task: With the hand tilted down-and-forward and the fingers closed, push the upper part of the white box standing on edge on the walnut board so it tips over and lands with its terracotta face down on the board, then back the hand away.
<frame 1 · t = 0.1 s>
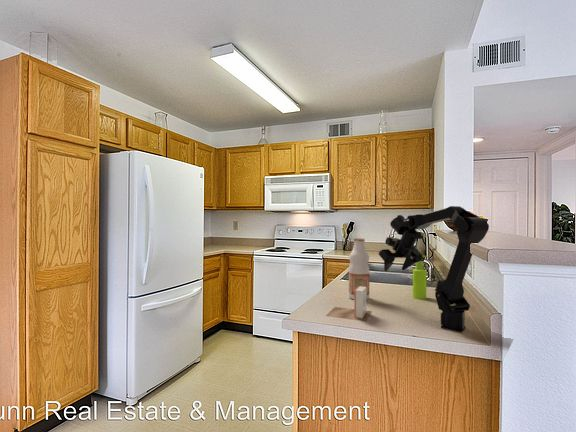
hand: (394, 270, 137), 15 cm above the counter, tool tilted 35°, fingers open, 9 cm apart
fruit juice: (359, 298, 148), on the counter
board: (349, 315, 122), on the counter
white box: (360, 314, 120), point 1 cm above the counter, touching board
soap dispenser: (420, 298, 149), on the counter
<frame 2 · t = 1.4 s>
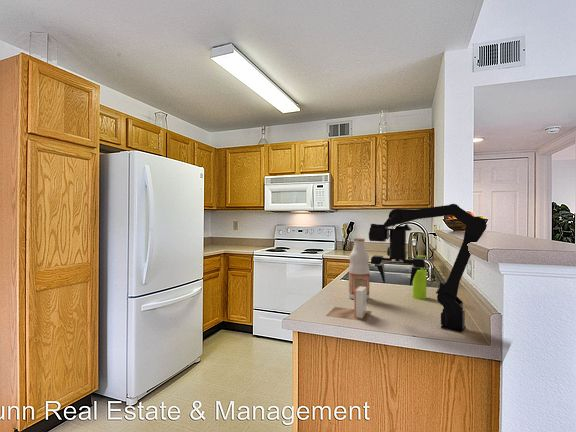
hand: (397, 284, 117), 13 cm above the counter, tool pointing down, fingers open, 9 cm apart
nothing on the counter moved.
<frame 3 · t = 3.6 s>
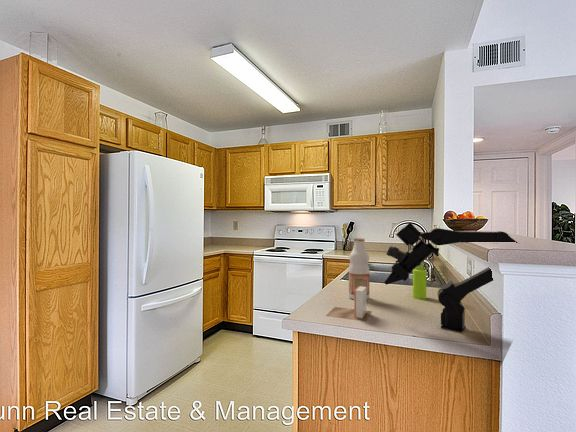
hand: (385, 283, 117), 13 cm above the counter, tool tilted 45°, fingers closed
nothing on the counter moved.
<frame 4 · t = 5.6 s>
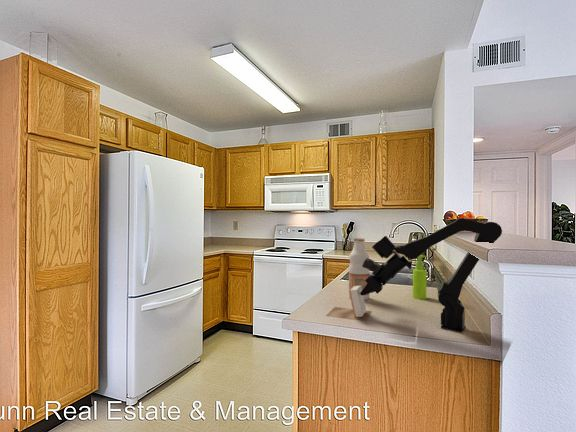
hand: (360, 294, 120), 8 cm above the counter, tool tilted 45°, fingers closed
white box: (360, 313, 120), point 1 cm above the counter, tilted 12°, touching board
everything else where it was.
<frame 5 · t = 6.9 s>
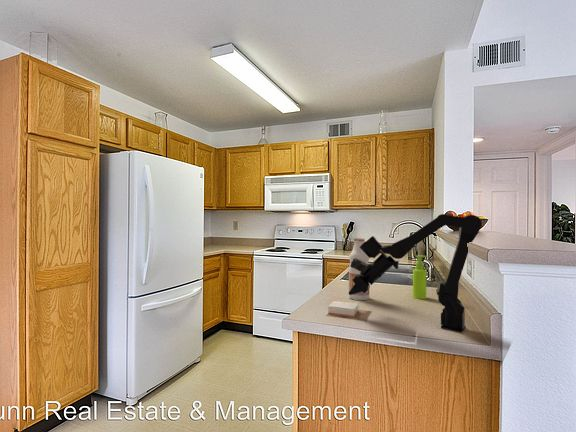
hand: (349, 294, 122), 8 cm above the counter, tool tilted 45°, fingers closed
white box: (356, 310, 121), point 2 cm above the counter, tilted 90°, touching board
everything else where it was.
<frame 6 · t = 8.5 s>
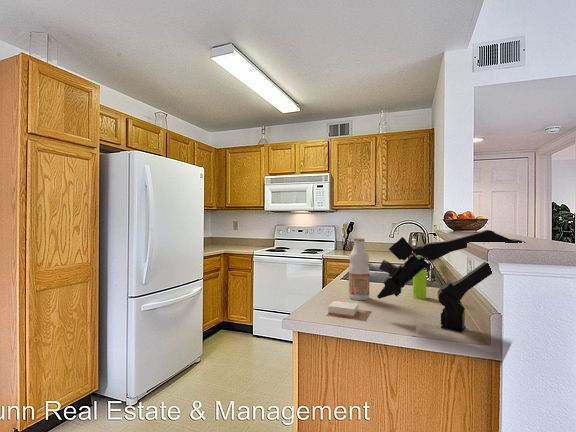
hand: (378, 297, 118), 8 cm above the counter, tool tilted 45°, fingers closed
nothing on the counter moved.
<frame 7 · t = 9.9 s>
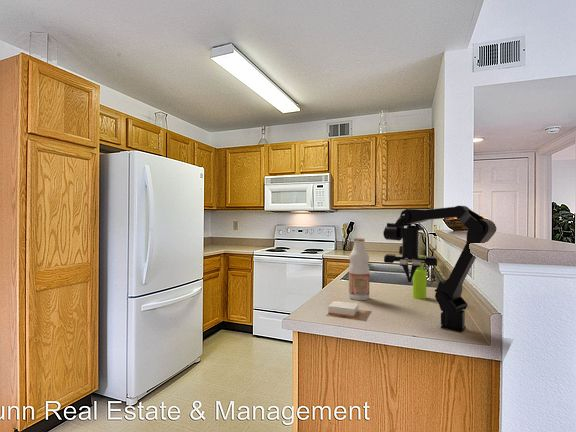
hand: (409, 282, 121), 13 cm above the counter, tool pointing down, fingers closed
nothing on the counter moved.
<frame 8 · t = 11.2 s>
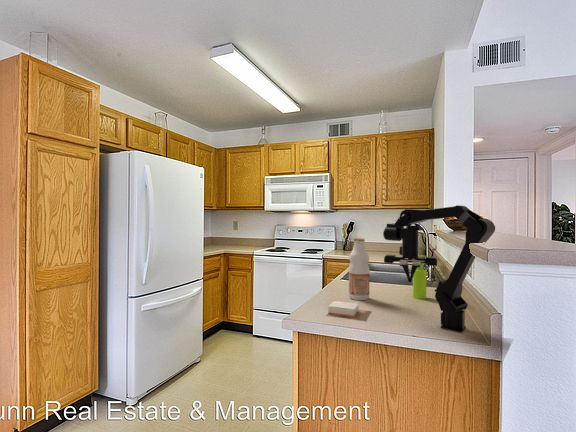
hand: (410, 282, 121), 13 cm above the counter, tool pointing down, fingers closed
nothing on the counter moved.
at the end: white box tilted 90°; white box inside the target area on the board (2.7 cm from its centre), point 2.1 cm above the board's base; white box point 2.1 cm above the counter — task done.
